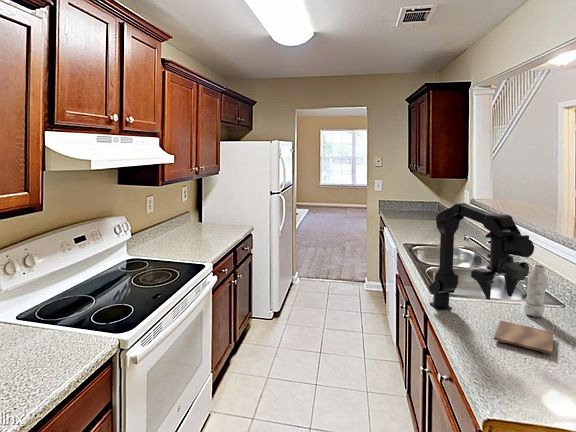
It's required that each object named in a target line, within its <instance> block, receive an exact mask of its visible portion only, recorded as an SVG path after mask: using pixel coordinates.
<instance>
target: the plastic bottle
mask: <svg viewBox="0 0 576 432" xmlns="http://www.w3.org/2000/svg"><path fill="white" fill-rule="evenodd" d="M545 269H546V267H545V266H544V265H540V264H534V265H533V266H532V272H531V273H530V274H528V276H527V295H526V300H525V303H524V305H523V311H524V313H525V315H528V316H530V317H533V318H541V317H543V316H544V313H545V293H546V289H547V288H548V287H547V286H548V282H549V280H548V278H547V276H546V274H545V272H546V270H545Z"/></svg>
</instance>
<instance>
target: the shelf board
mask: <svg viewBox="0 0 576 432" xmlns="http://www.w3.org/2000/svg"><path fill="white" fill-rule="evenodd" d="M493 340H496V341H498V343H499V344H504V343H506V344H511V345H514V346H517V347H522V348H525V349H526V348H527V349H529V350H535V351H538V352H540V353H541V354H543V355H548V354H551V355H553V347H554V345H553V343H554V331H551V330H550V331H549V330H544V329H541V328H536V327H532V326H527V325H523V324H519V323H514V322H510V321H506V320H500V321H499V324H498V326H497V329H496V331H495V334H494V336H493Z"/></svg>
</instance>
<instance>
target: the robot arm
mask: <svg viewBox="0 0 576 432" xmlns="http://www.w3.org/2000/svg"><path fill="white" fill-rule="evenodd" d="M465 218H467V219H470V220H472V221H475V222H477V223H480V224H481V225H483V227H484V228H485V229H486V230H488V233H487V234H486V235H484V236H485V238H487V239H490V243H489V244H490V245H489V247H490V249H489V253H488V254H487V255H486V256H487V258H488V259H489V265H487V266H486V269H484V268H478V269H473V270H471V271H470V273H471V275H470V276H471V278H472V279H474V281H476V282H477V284H478V285H479V287H480V289H481V291H482V293H483V295H484V297H485V299H486V300H488V301H489V300H491V294H492V293H491V291H492V285H493V284H494V283H495V280H494V279H495V277H500V276H504V282H505V288H506V293H507V297H509V298H511V297H513V294H514V292H515V290H516V288H517V285H518V283H519V282H520V281H522V280H524V279H526V278H525V277H528V276H529V272H530V265H529V263H528V262H526V261H522V262H515V261H514V256H517V257H522V258H529V257H531V256H532V255H533V253H534V251H535V245H534V243H533V241H532V240H531V239H530V235H528V234H522V233H521V231H520V229H519V228H518V227H517V225H516V223H515V221H514V219H513V216H512V215H510V214H504V213H492V212H489V211H486V210H483V209H480V208H478V207H476V206H473V205H469V204H468V203H466V202H465V203H464V202H461V203H459V202H458V203H455V204H453V205H452V206H450V207H449V208H446V209H445V210H443V211H441V212H439V213H437V215H436V217H435V222H436V228H437V230H438V232H439V234H440V237H439V238H440V240H439V242H440V243H439V244H440V245H439V246H440V247H439V267H438V270H437V272H436V274H435V275H434V280H433V282H432V283H430V285H428V291H429V292H430V293H431V294H433V295H432V296H433V298H432V299H433V300H432V301H431V302H429V305H431V306H432V307H433V308H434V309H435V310H451V309H452V308H453V307H452V306H451V305H450V294H454V293H455V291H456V289H457V288H458V285H459V274H456V273H455V271H454V246H455V245H454V244H455V243H454V241H455V234H456V232H457V231H458V229H459V225H460V222H461V221H462V220H464V219H465Z"/></svg>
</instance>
